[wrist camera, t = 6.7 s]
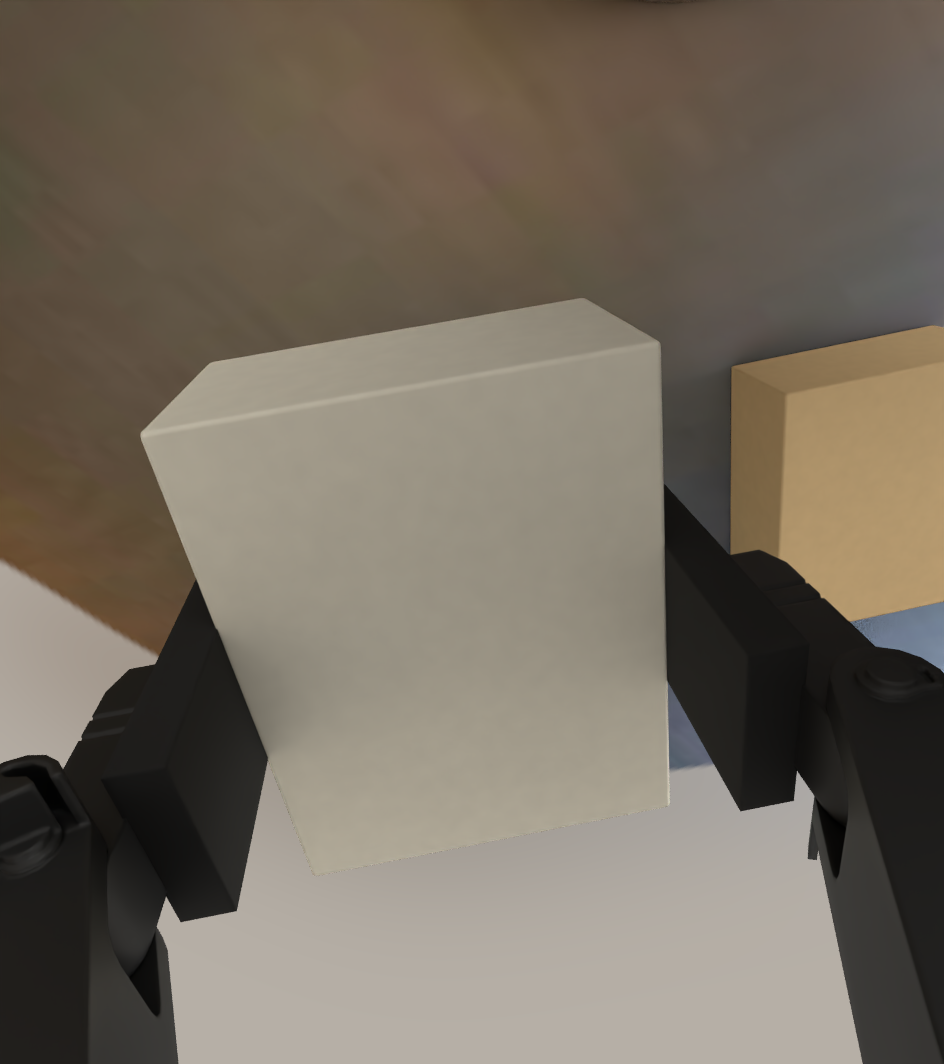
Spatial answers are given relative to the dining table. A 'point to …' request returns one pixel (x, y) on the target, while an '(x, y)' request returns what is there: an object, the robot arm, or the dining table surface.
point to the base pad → (845, 468)
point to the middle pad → (437, 573)
